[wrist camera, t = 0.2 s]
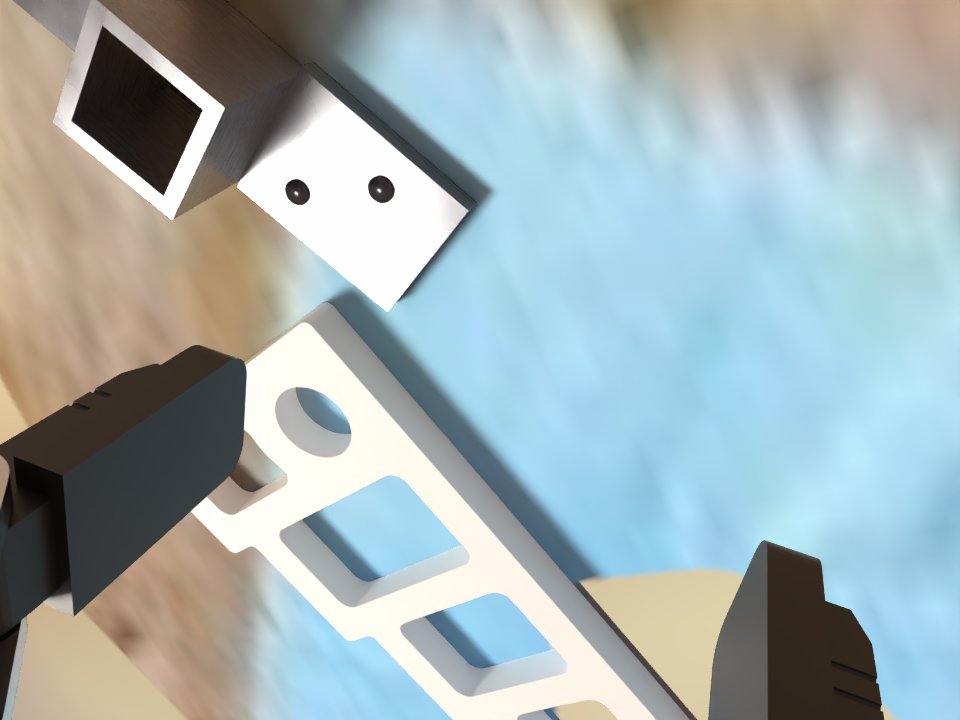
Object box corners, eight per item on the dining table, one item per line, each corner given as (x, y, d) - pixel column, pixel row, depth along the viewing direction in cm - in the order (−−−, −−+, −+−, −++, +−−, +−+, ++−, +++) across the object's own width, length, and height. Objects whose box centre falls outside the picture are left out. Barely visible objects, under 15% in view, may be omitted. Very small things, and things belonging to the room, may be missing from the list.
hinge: (21, -190, 32) (-117, -196, 27) (476, 202, 34) (422, 259, 30) (-12, -38, 36) (-135, -20, 32) (396, 302, 39) (337, 367, 34)
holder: (801, 841, 51) (801, 885, 48) (579, 858, 61) (571, 895, 59) (332, 294, 40) (305, 319, 38) (160, 425, 51) (131, 451, 48)
